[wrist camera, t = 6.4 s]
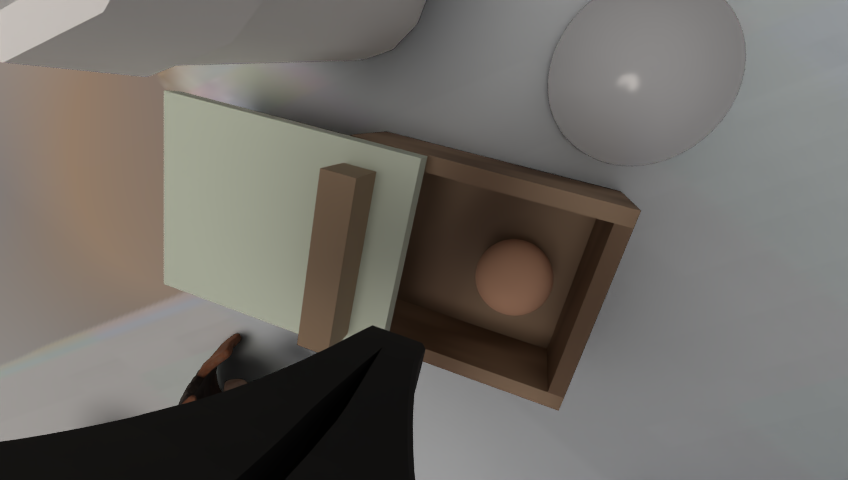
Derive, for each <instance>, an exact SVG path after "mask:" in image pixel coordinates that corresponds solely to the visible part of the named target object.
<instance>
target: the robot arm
mask: <svg viewBox="0 0 848 480" xmlns="http://www.w3.org/2000/svg"><path fill="white" fill-rule="evenodd" d="M425 350H426V349H425V347H424V345H423V343H421V342H419V341H416V340H413V339H410V338H407V337H404V336H402V335H399V334H396V333H393V332H390V331H387V330H385V329H382V328H379V327H376V326H373V325H372V326H370V327H368V328H366V329H364V330H362V331H360V332H358V333H356V334H354V335H352V336H350V337H348V338H346V339H344V340H342V341H340V342H338V343H336V344H334V345H332V346H330V347H328V348H326V349H324V350H322V351H320V352H318V353H316V354H314V355H312V356H310V357H308V358H306V359H304V360H302V361H300V362H297V363H295V364H293V365H290V366H288V367H286V368H283V369H281V370H279V371H276V372H274V373H272V374H269V375H267V376H265V377H262V378H260V379H257V380H255V381H252V382H249V383H247V384H244V385H241V386H238V387H236V388H233V389H230V390H227V391H224V392H221V393H217V394H214V395H211V396H208V397H205V398H202V399H199V400H195V401H192V402H188V403H184V404H181V405H177V406H173V407H169V408H165V409H162V410H158V411H154V412H150V413H146V414H142V415H139V416H135V417H131V418H127V419H122V420H118V421H113V422H108V423H103V424H99V425H94V426H89V427H84V428H79V429H74V430H68V431H63V432H57V433H52V434H47V435H41V436H35V437H29V438H23V439H17V440H10V441H2V442H0V480H415V474H414V458H413V405H414V393H415V389H416V385H417V381H418V377H419V373H420V370H421V366H422V362H423V358H424V354H425Z"/></svg>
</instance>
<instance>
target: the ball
mask: <svg viewBox="0 0 848 480" xmlns="http://www.w3.org/2000/svg"><path fill="white" fill-rule="evenodd" d="M475 280H476V286H477V289H478V292H479V294H480V296H481V298H482V299H483V300H484V302H485V303H486V304H487V305H488V306H489V307H491V308H492V309H494V310H495V311H497V312H499V313H502V314H505V315H511V316H520V315H525V314H528V313H531V312H533V311H535V310H536V309H538V308H539V307H540V306H542V305H543V304H544V302H545V301H546V300H547V298H548V297H549V295H550V293H551V290H552V287H553V270H552V266H551V263H550V261H549V259H548V258H547V256H546V255H545V254H544V253H543V251H542V250H540V249H539V248H538V247H537V246H535V245H534V244H532V243H530V242H527V241H524V240H519V239H508V240H503V241H500V242H498V243H496V244H494V245H492V246H491V247H489V248H488V249H487V250H486V251H485V252H484V253H483V255H482V256H481V258H480V260H479V261H478V264H477V267H476V273H475Z"/></svg>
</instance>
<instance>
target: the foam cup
mask: <svg viewBox="0 0 848 480" xmlns="http://www.w3.org/2000/svg"><path fill="white" fill-rule="evenodd" d="M425 2H426V0H0V62H3V63H12V64H22V65H32V66H42V67H52V68H62V69H72V70H82V71H91V72H101V73H111V74H121V75H131V76H141V77H149V76H151V75H154V74H156V73H159V72H161V71H164V70H166V69H169V68H171V67H174V66H176V65H213V64H250V63H287V62H324V61H356V60H359V59H360V60H364V59H367V58H370V57H373V56H375V55H378V54H381V53H384V52H387V51H390V50H393V49H394V48H395V47H396V45H397V44H398V43H399V42H400V41H401V40H402V39H403V38H404V37H405V36H406V35H407V34H408V33H409V32H410V31H411V30H412V29H413V28H414V27H415V26H416V25H417V24H418V21H419V18H420V16H421V13H422V10H423V7H424V5H425Z"/></svg>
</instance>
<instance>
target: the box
mask: <svg viewBox="0 0 848 480" xmlns="http://www.w3.org/2000/svg"><path fill="white" fill-rule="evenodd" d="M350 136H352V137H356V138H360V139H364V140H368V141H371V142H375V143H379V144H383V145H387V146H390V147H394V148H398V149H402V150H406V151H409V152H413V153H417V154H421V155H425V156H428V157H427V161H426V166H425V170H424V175H423V180H422V184H421V189H420V193H419V198H418V203H417V207H416V212H415V216H414V221H413V226H412V230H411V235H410V239H409V244H408V249H407V253H406V258H405V262H404V267H403V272H402V276H401V281H400V285H399V290H398V295H397V299H396V304H395V308H394V313H393V318H392V322H391V327H390V332H393V333H396V334H399V335H402V336H404V337H407V338H410V339H413V340H416V341H419V342H421V343H423V345H424V347H425V349H426V350H425V354H424V358H423V362H426V363H429V364H431V365H434V366H437V367H440V368H442V369H445V370H448V371H451V372H453V373H456V374H459V375H462V376H464V377H467V378H470V379H473V380H476V381H478V382H481V383H484V384H487V385H489V386H492V387H495V388H498V389H500V390H503V391H506V392H509V393H511V394H514V395H517V396H520V397H522V398H525V399H528V400H531V401H533V402H536V403H539V404H542V405H544V406H547V407H550V408H553V409H555V410H558V411H559V408H560V406H561V404H562V401H563V399H564V396H565V394H566V391H567V389H568V387H569V384H570V382H571V379H572V377H573V374H574V372H575V370H576V367H577V365H578V362H579V360H580V357H581V355H582V353H583V350H584V348H585V345H586V343H587V340H588V338H589V336H590V333H591V331H592V328H593V326H594V323H595V321H596V319H597V316H598V314H599V311H600V309H601V306H602V304H603V302H604V299H605V297H606V294H607V292H608V289H609V287H610V285H611V282H612V280H613V277H614V275H615V272H616V270H617V268H618V265H619V263H620V260H621V258H622V255H623V253H624V251H625V248H626V246H627V243H628V241H629V238H630V236H631V234H632V231H633V229H634V226H635V224H636V221H637V219H638V217H639V214H640V212H641V210H640V209H639V208H638V207H637V206H635V205H634V204H633V203H632V202H631V201H630V200H629V199H628V198H627V197H626V196H625V195H624V194H623V193H622V192H621V191H617V190H613V189H609V188H605V187H601V186H597V185H594V184H590V183H586V182H582V181H578V180H574V179H570V178H566V177H562V176H558V175H554V174H550V173H547V172H543V171H539V170H535V169H531V168H527V167H523V166H519V165H515V164H511V163H507V162H504V161H500V160H496V159H492V158H488V157H484V156H480V155H476V154H472V153H468V152H464V151H460V150H457V149H453V148H449V147H445V146H441V145H437V144H433V143H429V142H425V141H421V140H417V139H414V138H410V137H406V136H402V135H398V134H394V133H390V132H375V133H364V134H353V135H350ZM508 239H519V240H524V241H527V242H530V243H532V244H534V245H535V246H537V247H538V248H539V249H540V250H542V251H543V253H544V254H545V255H546V256H547V258H548V259H549V261H550V263H551V266H552V270H553V287H552V290H551V293H550V295H549V297H548V298H547V300H546V301H545V302H544V304H543V305H542V306H540V307H539V308H538V309H536V310H535V311H533V312H531V313H528V314H525V315H520V316H511V315H505V314H502V313H499V312H497V311H495V310H494V309H492V308H491V307H489V306H488V305H487V304H486V303H485V302H484V300H483V299H482V298H481V296H480V294H479V292H478V289H477V286H476V280H475V273H476V267H477V264H478V261H479V260H480V258H481V256H482V255H483V253H484V252H485V251H486V250H487V249H488V248H489V247H491V246H492V245H494V244H496V243H498V242H500V241H503V240H508Z"/></svg>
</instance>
